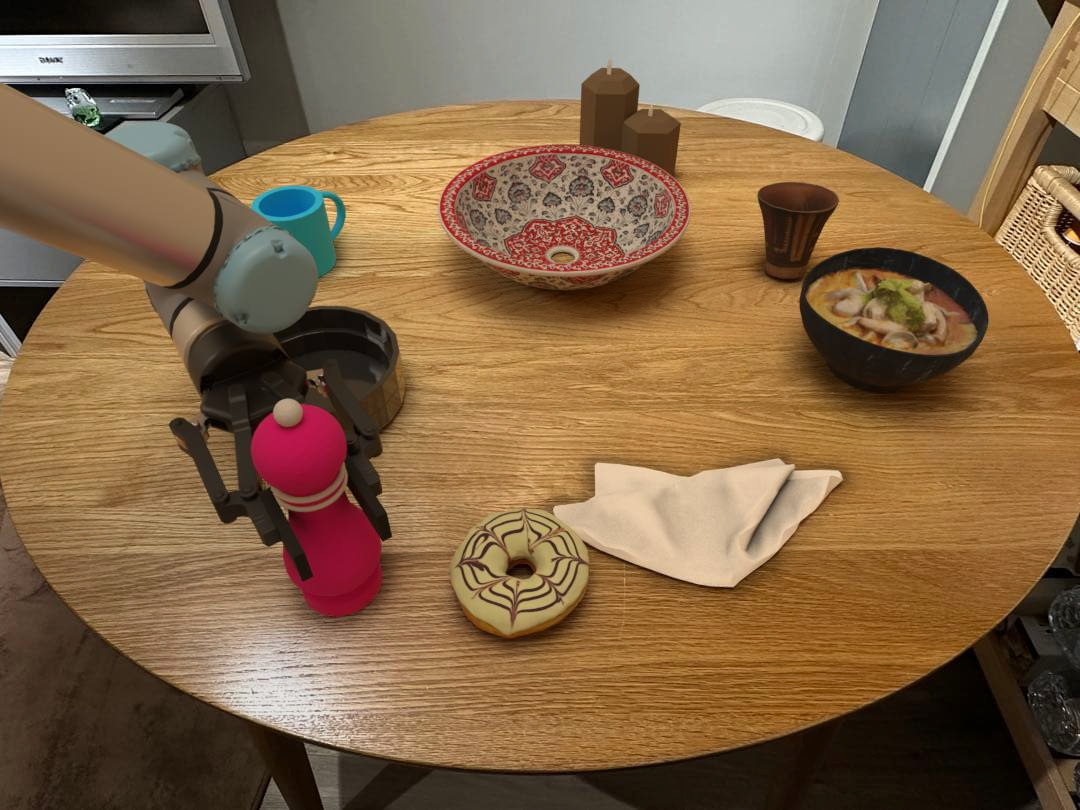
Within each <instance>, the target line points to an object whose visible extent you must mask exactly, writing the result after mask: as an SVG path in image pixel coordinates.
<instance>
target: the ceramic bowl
mask: <svg viewBox="0 0 1080 810" xmlns="http://www.w3.org/2000/svg"><path fill="white" fill-rule="evenodd" d="M437 215H438V220H439V223H440V225H441V227H442V230H443V231H444V232H445V234H446V236H447V237H448V238H449V239H450V240H451V241H452V242H453V243H454V244H455V245H456V246H457V247H458V248H460V249H461V250H462V251H464V252H465V253H467V254H469V255H471V256H472V257H474V258H476V259H478V260H479V261H481V262H482V264H484V265H485V266H487V267H488V268H490V269H491V270H492V271H494V272H496V273H498V274H499V275H501V276H502V277H505V278H507V279H509V280H511V281H513V282H517V283H519V284H523V285H526V286H528V287H532V288H533V287H534V288H538V289H544V290H552V291H577V290H578V291H579V290H583V289H584V290H586V289H591V288H596V287H600V286H604V285H607V284H610V283H612V282H615V281H618V280H620V279H623V278H624V277H626V276H628V275H630V274H632V273H633V272H635V271H637V270H638V269H640V268H641V267H643V266H644V265H645V264H646V263H647V262H650V261H652V260H653V259H656V258H657V257H660V256H661V255H662V254H664V253H665V252H667V251H668V250H670V249H671V248H672V247H674V246H675V245H676V244H677V243H678V242H679V241H680V239H681V238H682V237H683V235H685V233H686V230H687V229H688V227H689V224H690V221H691V215H692V209H691V202H690V199H689V196H688V194H687V192H686V190H685V189H684V187H683V186H682V185H681V183H680V182H679V181H678V180H677V179H676V178H675V177H672V176H671V175H670V174H668V173H667V172H666V171H664V170H663V169H661V168H659V167H658V166H656V165H654V164H652V163H650V162H648V161H646V160H643V159H641V158H638V157H636V156H633V155H630V154H626V153H623V152H619V151H615V150H611V149H605V148H600V147H592V146H582V145H579V144H543V145H534V146H526V147H521V148H520V147H519V148H515V149H511V150H507V151H502V152H499V153H496V154H493V155H490V156H488V157H484V158H482V159H480V160H478V161H476V162H473V163H472V164H470V165H468V166H466V167H465V168H463V169H462V170H461V171H459V172H458V173H457V174H455V175H454V176H453V177H452V178H451V179H450V180H449V181H448V183H446V185H445V186H444V188H443V189H442V192H441V193H440V196H439V199H438V203H437ZM557 253H567V254H570V255H572V256H573V257H574V259H573V260H572V261H569V262H564V263H561V262H556V261H554V260H553V259H552V257H553V255H555V254H557Z"/></svg>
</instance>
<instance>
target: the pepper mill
mask: <svg viewBox="0 0 1080 810" xmlns="http://www.w3.org/2000/svg"><path fill="white" fill-rule="evenodd" d="M346 452H347V444H346V437H345V434H344V432H343V430H342V428H341V426H340V424H339V423H338V421H337V420H336V419H335V418H334V417H333V416H332V415H331V414H330V413H328V412H327V411H325V410H323V409H321V408H319V407H316V406H312V405H304V404H299V403H298V402H297V401H295V400H293V399H283V400H281V401H279V402H278V403H277V404H276V405H275V407H274V410H273V413H271V414H270V415H269V416H267V417H266V418H265V419H264V420H263V421H262V422H261V423H260V424H259V426H258V428H257V429H256V431H255V433H254V435H253V438H252V444H251V455H252V460H253V464H254V467H255V469H256V471H257V472H258V474H259V476H260V477H261V478H262V479H263V482H266V483H267V484H268V485H269V486H270V489H271V491H272V493H273V494H274V496H275V499H276V500H277V502H278V504H279V506H281V507H282V508H284V509H286V511H287V517H288V518H287V520H288V522H289V524H290V526H291V528H292V530H293V532H294V534H295V535H296V537H297V539H298V541H299V543H300V545H301V547H302V548H303V550H304V552H305V555H306V557H307V560H308V563H309V565H310V568H311V571H312V574H313V576H314V577H312V578H310V579H308V580H306V581H304V582H302V580H301V578H300V576H299V574H298V572H297V570H296V568H295V566H294V564H293V562H292V560H291V558H290V556H289V554H288V553H287V551H286V549H285V547H284V545H283V544H282V559H283V564H284V568H285V572H286V574H287V576H288V578H289V579H290V581H291V582H292V583H293V584H294V585H295V586H296V587H297V588H298V589H300V591H301V593H302V595H303V598H304V600H305V602H306V604H307V605H308V606H309V608H311V609H312V610H313V611H315V612H317V613H318V614H321V615H324V616H327V617H328V616H329V617H344V616H349V615H352V614H354V613H356V612H359V611H361V610H363V608H365V607H367V606H368V605H369V604H371V602H372V601H373V600H374V598H376V596H377V595H378V594H379V591H380V589H381V585H382V583H383V570H382V566H381V563H380V559H381V556H382V540H381V539H380V537H379V536H378V534H377V532H376V531H375V529H374V528H373V526H372V524H371V523H370V521H369V520H368V518H367V517H366V515H365V513H364V512H363V510H362V509H361V507H360V506H358V505H356V504H354V503H353V502H351V500H350V499H349V497H348V494H347V493H346V488H347V481H348V474H347V471H346V468H345V463H344V460H345V458H346Z"/></svg>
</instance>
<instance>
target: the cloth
mask: <svg viewBox="0 0 1080 810" xmlns="http://www.w3.org/2000/svg"><path fill="white" fill-rule="evenodd" d="M842 481H844V478H843V474H842V473H841V472H840V471H839V470H835V469H806V470H805V469H801V470H796V463H791V464H786V463H785V462H784V461H783V460H781V459H780V457H776V458H773V459H767V460H762V461H757V462H756V461H755V462H751V463H746V464H741V465H735V466H731V467H725V468H724V467H723V468H717V469H715V468H714V469H707V470H702V471H700V472H698V473H695V474H693V475H692V476H682V475H677V474H673V473H669V472H665V471H661V470H656V469H651V468H648V467H644V466H643V467H642V466H634V465H627V464H620V463H609V462H607V463H606V462H596V463H595V464H594V496H592V497H591V498H589V499H587V500H586V501H582V502H576V503H566V504H560V505H559V504H558V505H554V507H553V509H552V512H553V515H554V516H556V517H557V518H558V519H560V520H561V521H562V522H563V523H565V524H566V525H567V526H569V527H570V528H571V529H572V530H574V531H575V532H576V533H577V534H578V535H579V537H580V538H581V540H582V541H583V543H584V544H588V546H591V547H593V548H595V549H597V550H599V551H601V552H604V553H606V554H609V555H612V556H614V557H617V558H619V559H622V560H624V561H627V562H629V563H632V564H634V565H637V566H640V567H642V568H646V569H648V570H652V571H654V572H656V573H659V574H663V575H665V576H668V577H670V578H671V577H672V578H674V579H676V580H681V581H685V582H689V583H693V584H697V585H702V586H707V587H719V588H720V587H723V588H735V586H736V585H738V583H739V582H740V581H742V580H744V578H746V577H747V576H749V575H750V574H751V573H753V572H754V571H755V570H756V569H758V568H759V567H760V566H763V564H765V563H766V562H767V561H769V560H770V559H771V558H772V557H773V556H775V554H776V553H777V552H778V551H779V550H780V549H781V548H782V547H783V546H784V544H785V543H786V542H787V541H788V540H789V539H790V538H791V537H792V536H793V535H794V534H795V532H796V531H797V529H798V527H799V525H800V522H802V521H803V520H804V519H806V518H807V517H809V515H811V514H812V513H813V512H814V511H816V510H817V508H818V507H820V505H821V504H822V502H823V501H825V499H826V498H827V496H828V495H829V494H830V493H831V492H832V490H834V489H835V488H836V487H837V486H838V485H840V483H841V482H842Z"/></svg>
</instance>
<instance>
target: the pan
mask: <svg viewBox="0 0 1080 810" xmlns="http://www.w3.org/2000/svg"><path fill="white" fill-rule="evenodd" d="M273 335H274V336H275V337H276V339H277V340H278V342H279V343H280V345H281V346H282V348H283V349H284V351H285V352H286V354H287V355H288V357H289V358H290V360H291V361H292V363H294V364H296V365H298V366H301V367H302V368H304V369H305V371H312V370H318V369H323V363H324V361H326V360H328V359H335V360H336V361H337V362H338V366H339V370H340V374H341V378H342V380H343V382H344V383H345V384H346V386H347V387H348V388H349V390H350V391H351V392H352V394H353V395H354V396H355V398H356V399H357V400H358V402H359V403H360V404H361V406H362V407H363V408H364V410H365V411H366V412H367V414H368V415H369V416H370V418H371V419H372V420H373V422H374V423H375V424H376V425H377V427H378V430H379V431H380V430H382V429H383V428H384V427H386V426H387V425H388V424H389V423H390V422H391V421H392V419H393V418H394V417H395V415H396V414H397V412H398V411H399V410H400V408H401V407H402V405H403V400H404V396H405V392H406V388H407V386H406V380H405V374H404V368H403V363H402V362H403V361H402V355H401V351H400V346H399V342H398V338H397V334H396V332H394V330H393V329H392V327H390V325H388V324H387V322H386V321H385V320H383V319H382V318H380V317H378V316H376V315H374V314H373V313H371V312H369V311H367V310H363V309H360V308H359V309H358V308H354V307H350V306H346V305H315V306H309V307H308V309H307V311H306V312H305V314H304V315H303V316H302V317H301V318H300V319H299V320H298V321H297V322H295V323H294V324H293V325H291V326H290V327H288V328H286V329H284V330H281V331H279V332H275V333H273ZM305 400H306V401H307V402H308V403H309V404H310V405H312V406H316V407H319V408H321V409H323V410H325V411H327V412H328V413H330V414H331V415H332V416H333V417H334V418H335V419H336V420H337V421H338V423H339V424H340V426H341V428H342V429H343V430H344V431H346V432H347V433H348V434H350V435H351V436H354V435H353V434H352V432H351V431H350V430H349V428H348V427H347V425H346V424H345V423H344V421H343V420H342V418H341V417H340V416H339V414H338V413H337V411H336V410H335V409H334V407H333V406H332V404H331V401H330V398H329V397H323V394H321V393H319V392H318V391H317V389H316V388H313V387H309V390H308V393H307V395H306V398H305Z"/></svg>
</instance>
